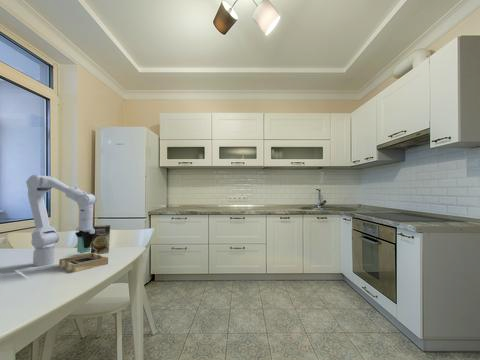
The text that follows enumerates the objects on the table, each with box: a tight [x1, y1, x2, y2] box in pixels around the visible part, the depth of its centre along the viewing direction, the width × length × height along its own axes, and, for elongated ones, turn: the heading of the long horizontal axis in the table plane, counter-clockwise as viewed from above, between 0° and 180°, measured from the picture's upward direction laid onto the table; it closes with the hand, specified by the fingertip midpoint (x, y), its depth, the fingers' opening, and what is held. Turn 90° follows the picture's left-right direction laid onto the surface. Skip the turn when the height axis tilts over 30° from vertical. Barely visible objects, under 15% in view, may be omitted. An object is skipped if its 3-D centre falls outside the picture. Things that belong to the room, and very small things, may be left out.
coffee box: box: [90, 224, 111, 255], centre depth 137 cm, size 9×6×16 cm
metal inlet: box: [70, 256, 97, 264], centre depth 113 cm, size 8×8×2 cm
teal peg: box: [76, 237, 91, 254], centre depth 114 cm, size 4×4×7 cm
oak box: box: [58, 252, 109, 274], centre depth 113 cm, size 15×15×4 cm
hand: (84, 247), depth 114 cm, fingers closed on teal peg, 4 cm apart
